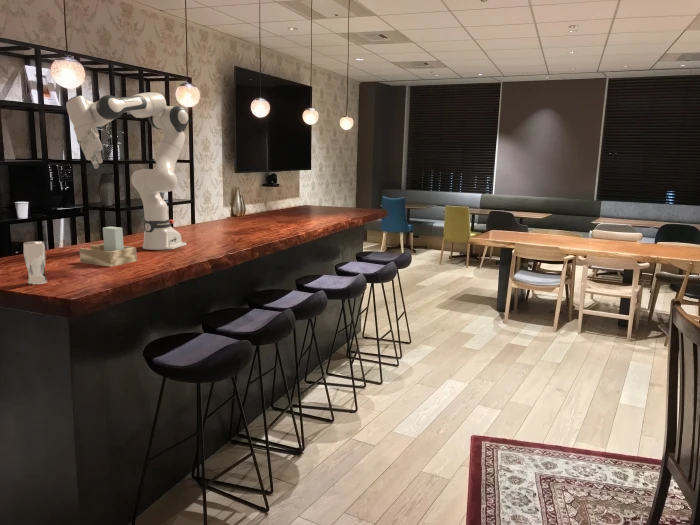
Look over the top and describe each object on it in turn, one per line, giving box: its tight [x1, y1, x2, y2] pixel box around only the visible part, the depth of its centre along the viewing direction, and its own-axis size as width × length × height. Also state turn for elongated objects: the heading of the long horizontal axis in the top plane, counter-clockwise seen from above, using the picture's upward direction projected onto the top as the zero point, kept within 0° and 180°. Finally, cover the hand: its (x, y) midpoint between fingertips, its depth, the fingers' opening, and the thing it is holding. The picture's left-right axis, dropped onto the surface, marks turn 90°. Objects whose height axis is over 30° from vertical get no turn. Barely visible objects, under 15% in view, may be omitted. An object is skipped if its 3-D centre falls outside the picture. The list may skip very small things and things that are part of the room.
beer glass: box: [23, 240, 48, 286], centre depth 205 cm, size 7×7×15 cm
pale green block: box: [102, 226, 125, 252], centre depth 238 cm, size 4×7×15 cm, turn 65°
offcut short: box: [89, 242, 104, 251], centre depth 242 cm, size 7×4×3 cm, turn 155°
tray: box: [79, 245, 138, 268], centre depth 240 cm, size 14×18×7 cm
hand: (98, 165), depth 241 cm, fingers open, 8 cm apart
